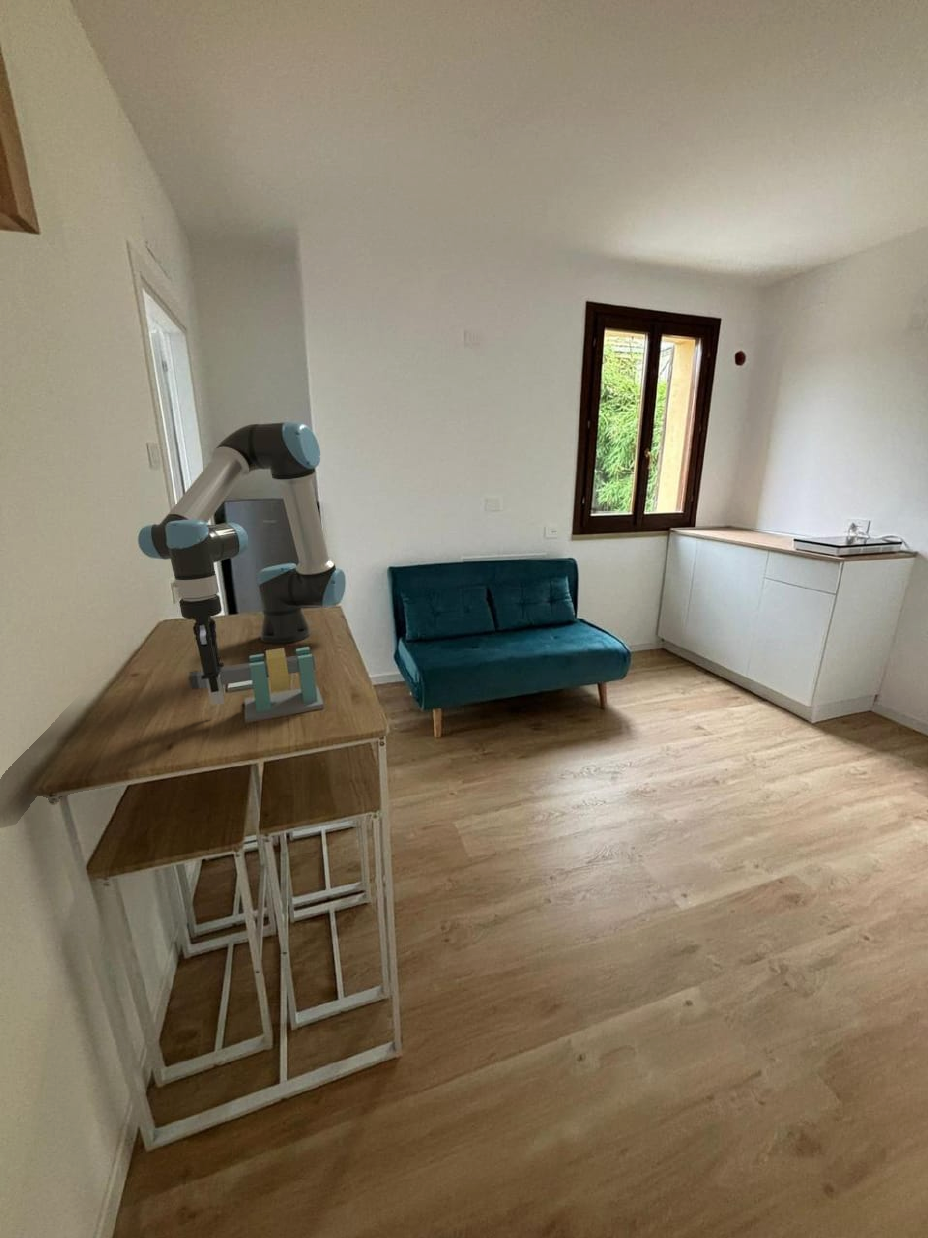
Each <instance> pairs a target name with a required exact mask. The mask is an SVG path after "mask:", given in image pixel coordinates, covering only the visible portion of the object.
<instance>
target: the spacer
mask: <svg viewBox="0 0 928 1238" xmlns="http://www.w3.org/2000/svg"><path fill="white" fill-rule="evenodd" d="M265 657H266V658H265V660H267V666H268V673H269V677H268V679H269V680H268V681H269V684H270V685H269V687H270V691H271V693H276V692H282V691H288V690H291V687H290V686H291V685H290V684H291V683H290V678H289V674H288V669H287V661H286V657H287V656H286V651H285V648H284V647H281V648H273V649H268V650H265Z"/></svg>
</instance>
